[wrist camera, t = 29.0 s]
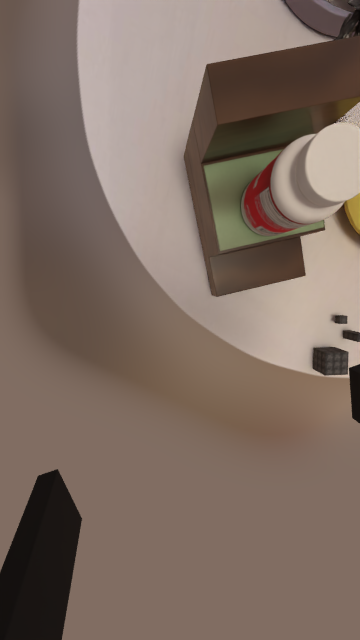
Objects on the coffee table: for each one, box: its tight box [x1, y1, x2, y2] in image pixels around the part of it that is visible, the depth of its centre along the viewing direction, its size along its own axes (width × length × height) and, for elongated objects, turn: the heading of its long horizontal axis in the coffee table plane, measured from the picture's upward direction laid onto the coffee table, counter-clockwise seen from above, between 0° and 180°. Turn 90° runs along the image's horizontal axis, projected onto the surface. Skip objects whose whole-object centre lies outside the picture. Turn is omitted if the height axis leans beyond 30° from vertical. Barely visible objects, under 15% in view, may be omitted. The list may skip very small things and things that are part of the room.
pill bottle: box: [241, 122, 360, 236], centre depth 22 cm, size 6×6×11 cm
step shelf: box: [184, 36, 360, 297], centre depth 28 cm, size 18×12×15 cm, turn 13°
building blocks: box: [313, 315, 360, 375], centre depth 38 cm, size 3×6×8 cm
